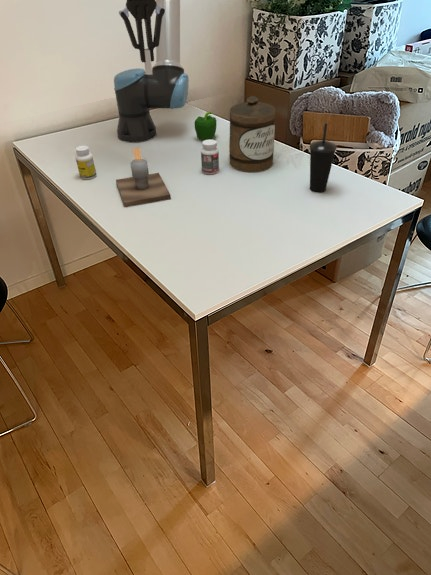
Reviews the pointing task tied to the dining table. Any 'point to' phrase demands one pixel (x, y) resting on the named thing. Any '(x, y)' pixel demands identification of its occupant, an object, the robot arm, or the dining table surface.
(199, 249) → the dining table surface
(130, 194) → the base
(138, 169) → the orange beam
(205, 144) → the pill bottle
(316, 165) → the drinking cup
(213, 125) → the bell pepper
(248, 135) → the wooden container
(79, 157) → the supplement bottle
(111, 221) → the dining table surface
